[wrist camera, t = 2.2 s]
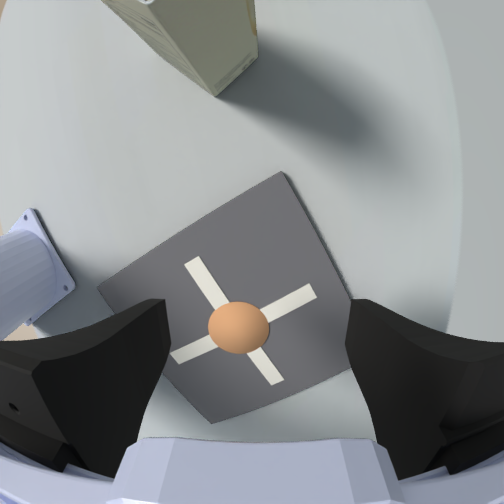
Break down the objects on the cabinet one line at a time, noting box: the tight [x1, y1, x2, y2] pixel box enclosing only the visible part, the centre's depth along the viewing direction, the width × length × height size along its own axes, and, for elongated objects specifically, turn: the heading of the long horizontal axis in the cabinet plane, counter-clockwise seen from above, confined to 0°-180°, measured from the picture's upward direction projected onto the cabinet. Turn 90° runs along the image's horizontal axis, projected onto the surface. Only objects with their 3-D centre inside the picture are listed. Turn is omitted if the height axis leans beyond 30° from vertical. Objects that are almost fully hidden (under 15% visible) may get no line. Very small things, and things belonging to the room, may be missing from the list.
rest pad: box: [97, 171, 351, 424], centre depth 21 cm, size 16×16×1 cm
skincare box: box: [101, 0, 258, 97], centre depth 10 cm, size 6×4×12 cm
